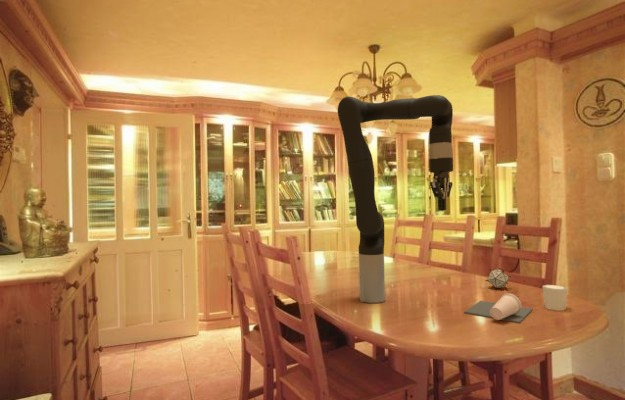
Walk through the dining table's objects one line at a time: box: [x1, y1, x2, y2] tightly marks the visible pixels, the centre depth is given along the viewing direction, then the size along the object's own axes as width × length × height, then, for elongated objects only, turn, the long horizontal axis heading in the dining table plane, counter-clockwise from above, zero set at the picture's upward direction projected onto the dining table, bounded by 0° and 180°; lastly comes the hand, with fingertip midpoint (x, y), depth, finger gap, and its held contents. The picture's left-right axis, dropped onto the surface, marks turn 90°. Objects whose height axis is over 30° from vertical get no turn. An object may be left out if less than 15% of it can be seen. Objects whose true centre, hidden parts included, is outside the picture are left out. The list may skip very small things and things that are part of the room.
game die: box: [485, 267, 512, 291], centre depth 148 cm, size 9×8×10 cm
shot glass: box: [542, 284, 568, 312], centre depth 121 cm, size 7×7×7 cm
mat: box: [463, 300, 533, 324], centre depth 118 cm, size 16×16×1 cm
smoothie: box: [490, 293, 523, 321], centre depth 112 cm, size 6×6×14 cm
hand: (442, 210), depth 121 cm, fingers closed
